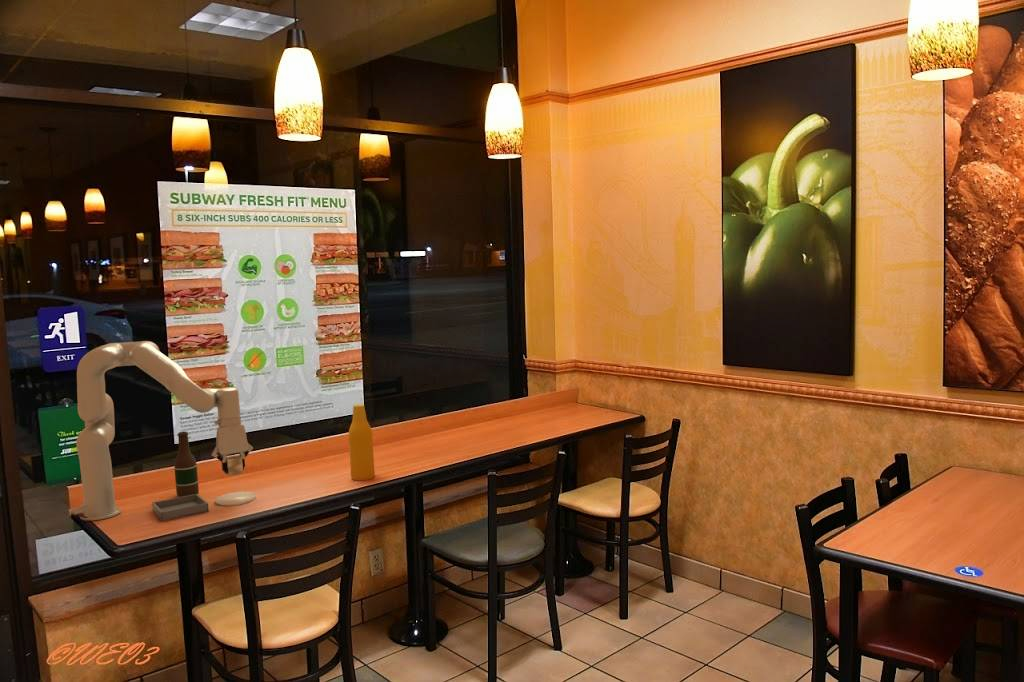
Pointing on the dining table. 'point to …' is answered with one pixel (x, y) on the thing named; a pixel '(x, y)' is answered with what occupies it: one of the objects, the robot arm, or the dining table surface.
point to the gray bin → (179, 507)
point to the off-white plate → (235, 498)
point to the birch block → (234, 465)
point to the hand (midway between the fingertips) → (234, 470)
